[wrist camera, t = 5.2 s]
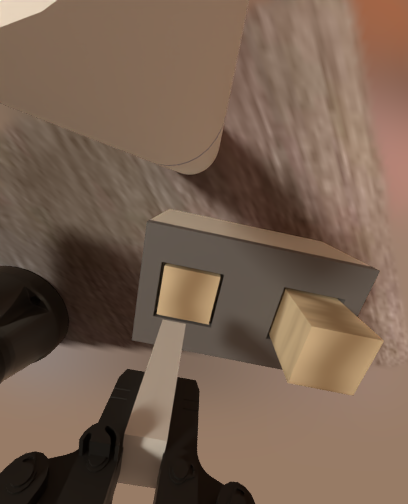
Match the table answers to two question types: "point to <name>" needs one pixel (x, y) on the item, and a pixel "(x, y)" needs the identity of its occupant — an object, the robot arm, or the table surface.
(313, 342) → the peg
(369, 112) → the table surface
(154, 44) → the cylindrical container
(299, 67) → the table surface
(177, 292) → the peg
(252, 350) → the plinth
